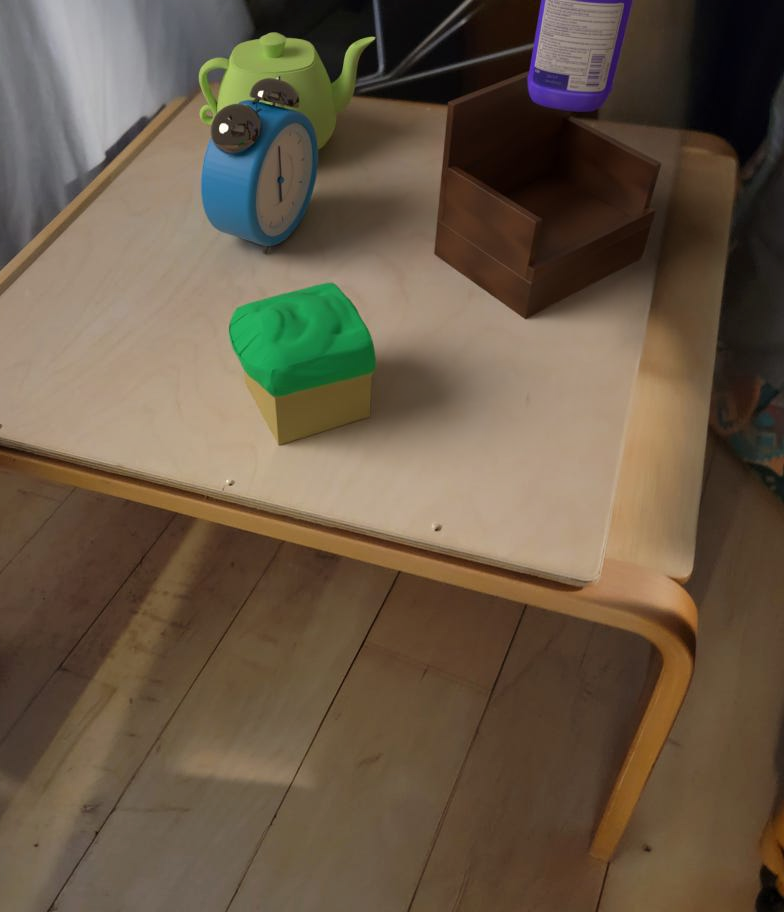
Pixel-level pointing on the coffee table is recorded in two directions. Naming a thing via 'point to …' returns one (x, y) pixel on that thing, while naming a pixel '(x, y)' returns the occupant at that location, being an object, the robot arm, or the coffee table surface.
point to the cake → (305, 360)
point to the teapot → (285, 78)
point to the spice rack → (537, 198)
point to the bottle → (577, 52)
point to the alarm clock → (260, 165)
